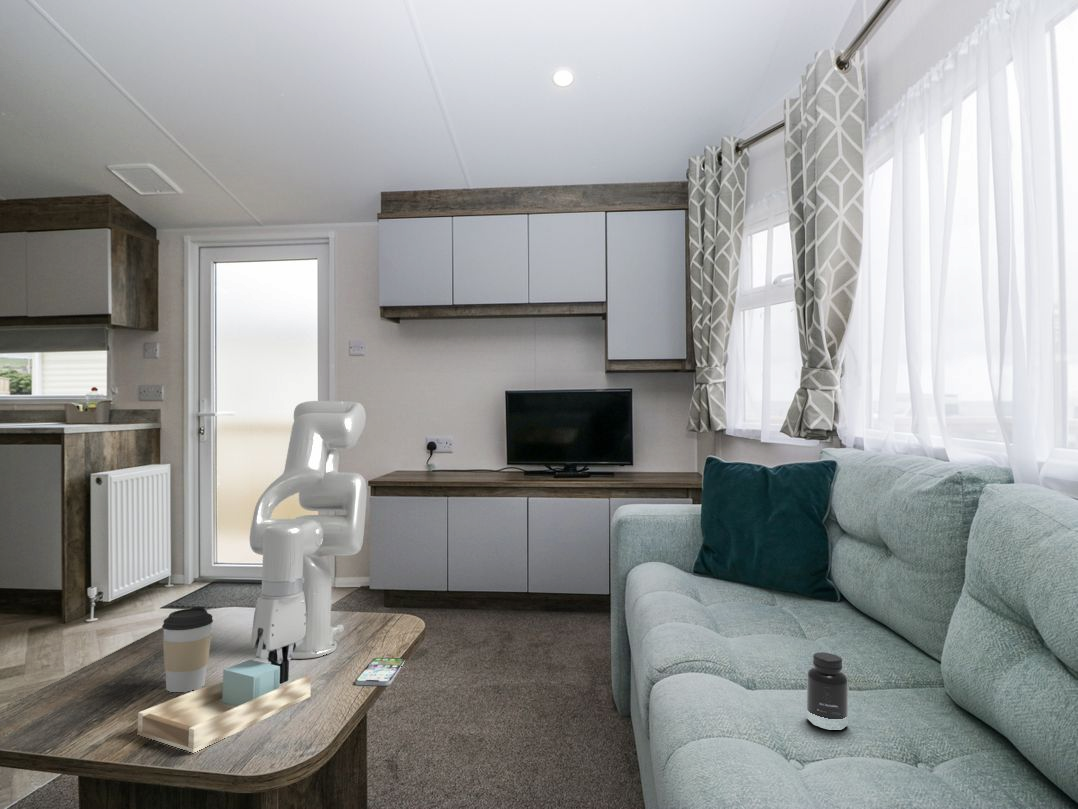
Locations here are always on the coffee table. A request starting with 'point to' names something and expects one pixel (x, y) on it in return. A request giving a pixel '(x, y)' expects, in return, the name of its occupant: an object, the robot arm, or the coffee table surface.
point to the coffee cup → (186, 648)
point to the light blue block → (249, 681)
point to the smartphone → (380, 671)
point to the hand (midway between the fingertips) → (279, 681)
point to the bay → (213, 714)
